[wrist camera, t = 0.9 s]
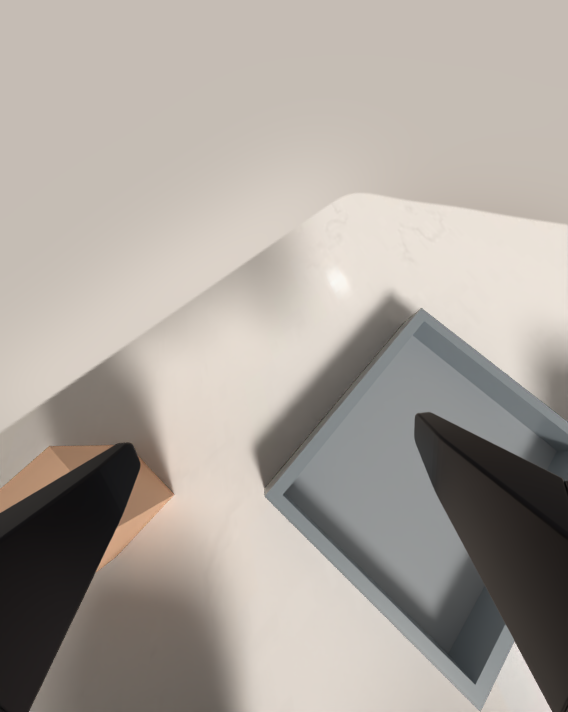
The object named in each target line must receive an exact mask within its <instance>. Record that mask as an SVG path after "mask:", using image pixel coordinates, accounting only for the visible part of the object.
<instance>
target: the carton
mask: <svg viewBox="0 0 568 712" xmlns="http://www.w3.org/2000/svg"><path fill="white" fill-rule="evenodd" d="M112 446H114V445H96V446H49V447H48V448H46V449H45V450H44V451H43V452H42V453H41V454H40V455H38V456H37V457H36V458H35V459H34V460H33V461H32V462H31V463H29V464H28V465H27V466H26V467H25V468H24V469H23V470H21V471H20V472H19V473H18V474H17V475H16V476H15V477H13V478H12V479H11V480H10V481H9V482H8V483H7V484H6V485H4V486H3V487H2V488H1V489H0V513H1V512H3V511H4V510H6V509H8V508H9V507H11V506H13V505H14V504H16V503H18V502H19V501H21V500H23V499H24V498H26V497H28V496H30V495H31V494H33V493H35V492H36V491H38V490H40V489H41V488H43V487H45V486H46V485H48V484H50V483H51V482H53V481H55V480H57V479H58V478H60V477H62V476H63V475H65V474H67V473H68V472H70V471H72V470H73V469H75V468H77V467H78V466H80V465H82V464H84V463H85V462H87V461H89V460H90V459H92V458H94V457H95V456H97V455H99V454H100V453H102V452H104V451H105V450H107V449H109V448H111V447H112ZM138 457H139V456H138ZM139 460H140V464H141V466H140V471H139V473H138V476H137V479H136V481H135V484H134V487H133V490H132V492H131V495H130V498H129V500H128V503H127V506H126V508H125V511H124V513H123V516H122V518H121V520H120V522H119V524H118V527H117V529H116V531H115V533H114V535H113V537H112V539H111V541H110V543H109V545H108V547H107V550H106V552H105V554H104V556H103V558H102V560H101V562H100V564H99V566H98V568H97V570H96V572H97V571H98V570H100V569H101V568H102V567H104V566H105V565H106V564H107V563H109V562H110V561H111V560H113V559H114V558H115V557H116V556H117V555H118V554H119V553H120V552H121V551H122V550H123V549H124V548H125V547H126V546H127V545H128V544H129V543H130V541H131V540H132V539H133V538H134V537H135V536H136V535H137V534H138V533H139V532H140V531H141V530H142V529H143V528H144V526H145V525H146V524H147V523H148V522H149V521H150V520H151V519H152V518H153V517H154V516H155V515H156V514H157V513H158V511H159V510H160V509H161V508H162V507H163V506H164V505H165V504H166V503H167V502H168V501H169V500H170V499H171V498H172V497H173V495H174V494H173V493H172V491H171V490H170V489H169V488H168V487H167V486H166V485H165V484H164V483H163V482H162V481H161V480H160V479H159V478H158V477H157V476H156V474H155V473H154V472H153V471H152V470H151V469H150V468H149V467H148V466H147V465H146V464H145V463H144V462H143V461H142V460H141V458H140V457H139Z"/></svg>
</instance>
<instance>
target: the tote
mask: <svg viewBox="0 0 568 712" xmlns="http://www.w3.org/2000/svg"><path fill="white" fill-rule="evenodd" d="M423 412H431V413H434V414H436V415H438V416H440V417H442V418H444V419H446V420H448V421H450V422H452V423H454V424H456V425H458V426H460V427H462V428H463V429H465V430H467V431H469V432H471V433H473V434H475V435H477V436H479V437H481V438H483V439H485V440H487V441H489V442H491V443H493V444H495V445H497V446H499V447H501V448H503V449H505V450H507V451H509V452H511V453H513V454H515V455H517V456H519V457H521V458H523V459H525V460H527V461H529V462H531V463H533V464H535V465H537V466H539V467H541V468H543V469H545V470H547V471H549V472H551V473H553V474H555V475H557V476H559V477H561V478H563V480H564V481H565V480H567V481H568V422H567V421H566V420H565V419H563V418H562V417H561V416H559V415H558V414H557V413H556V412H554V411H553V410H552V409H551V408H549V407H548V406H547V405H545V404H544V403H543V402H542V401H540V400H539V399H538V398H536V397H535V396H534V395H533V394H531V393H530V392H529V391H527V390H526V389H525V388H524V387H522V386H521V385H520V384H518V383H517V382H516V381H515V380H513V379H512V378H511V377H509V376H508V375H507V374H506V373H504V372H503V371H502V370H500V369H499V368H498V367H497V366H495V365H494V364H493V363H491V362H490V361H489V360H488V359H486V358H485V357H484V356H482V355H481V354H480V353H479V352H477V351H476V350H475V349H473V348H472V347H471V346H470V345H468V344H467V343H466V342H465V341H463V340H462V339H461V338H459V337H458V336H457V335H456V334H454V333H453V332H452V331H450V330H449V329H448V328H447V327H445V326H444V325H443V324H441V323H440V322H439V321H438V320H436V319H435V318H434V317H432V316H431V315H430V314H429V313H427V312H426V311H425V310H423V309H422V308H421V309H420V310H418V311H417V312H416V313H415V314H414V315H412V316H411V317H410V318H409V319H408V320H407V321H405V322H404V323H403V324H402V326H401V327H400V328H399V329H398V330H397V331H396V333H395V334H394V335H393V336H392V337H391V339H390V340H389V341H388V342H387V343H386V345H385V346H384V347H383V348H382V349H381V351H380V352H379V353H378V354H377V355H376V356H375V358H374V359H373V360H372V361H371V362H370V364H369V365H368V366H367V367H366V368H365V370H364V371H363V372H362V373H361V374H360V376H359V377H358V378H357V379H356V380H355V381H354V383H353V384H352V385H351V386H350V387H349V389H348V390H347V391H346V392H345V393H344V395H343V396H342V397H341V398H340V399H339V401H338V402H337V403H336V404H335V405H334V406H333V408H332V409H331V410H330V411H329V412H328V414H327V415H326V416H325V417H324V418H323V420H322V421H321V422H320V423H319V424H318V426H317V427H316V428H315V429H314V430H313V431H312V433H311V434H310V435H309V436H308V437H307V439H306V440H305V441H304V442H303V443H302V445H301V446H300V447H299V448H298V449H297V451H296V452H295V453H294V454H293V455H292V456H291V458H290V459H289V460H288V461H287V462H286V464H285V465H284V466H283V467H282V468H281V470H280V471H279V472H278V473H277V474H276V476H275V477H274V478H273V479H272V480H271V481H270V483H269V484H268V485H267V486H266V487H265V489H264V495H265V497H266V498H267V499H268V500H269V501H270V502H271V503H272V504H273V505H274V506H275V507H276V508H277V509H278V510H279V511H280V512H281V513H282V514H283V515H284V516H285V517H286V518H287V519H288V520H289V521H290V522H291V523H292V524H293V525H294V526H295V527H296V528H297V529H298V530H299V531H300V532H301V533H302V534H303V535H304V536H305V537H306V538H307V539H308V540H309V541H310V542H311V543H312V544H313V545H314V546H315V547H316V548H317V549H318V550H319V551H320V552H321V553H322V554H323V555H324V556H325V557H326V558H327V559H328V560H329V561H330V562H331V563H332V564H333V565H334V566H335V567H336V568H337V569H338V570H339V571H340V572H341V573H342V574H343V575H344V576H345V577H346V578H347V579H348V580H349V581H350V582H351V583H352V584H353V585H354V586H355V587H356V588H357V589H358V590H359V591H360V592H361V593H362V594H363V595H364V596H365V597H366V598H367V599H368V600H369V601H370V602H371V603H372V604H373V605H374V606H375V607H376V608H377V609H378V610H379V611H380V612H381V613H382V614H383V615H384V616H385V617H386V618H387V619H388V620H389V621H390V622H391V623H392V624H393V625H394V626H395V627H396V628H397V629H398V630H399V631H400V632H401V633H402V634H403V635H404V636H405V637H406V638H407V639H408V640H409V641H410V642H411V643H412V644H413V645H414V646H415V647H416V648H417V649H418V650H419V651H420V652H421V653H422V654H423V655H424V656H425V657H426V658H427V659H428V660H429V661H430V662H431V663H432V664H433V665H434V666H435V667H436V668H437V669H438V670H439V671H440V672H441V673H442V674H443V675H444V676H445V677H446V678H447V679H448V680H449V681H450V682H451V683H452V684H453V685H454V686H455V687H456V688H457V689H458V690H459V691H460V692H461V693H462V694H463V695H464V696H465V697H466V698H467V699H468V700H469V701H470V702H471V703H472V704H473V705H474V706H475V707H476V708H477V709H478V710H479V711H480V712H481V710H482V708H483V706H484V703H485V701H486V699H487V697H488V695H489V693H490V691H491V689H492V687H493V685H494V683H495V680H496V678H497V676H498V674H499V672H500V670H501V668H502V666H503V664H504V662H505V660H506V658H507V655H508V653H509V651H510V649H511V647H512V645H513V643H514V639H513V637H512V635H511V633H510V632H509V630H508V628H507V626H506V624H505V622H504V620H503V618H502V617H501V615H500V613H499V611H498V609H497V607H496V605H495V603H494V602H493V600H492V598H491V596H490V594H489V592H488V590H487V588H486V587H485V585H484V583H483V581H482V579H481V577H480V575H479V573H478V572H477V570H476V568H475V566H474V564H473V562H472V560H471V558H470V557H469V555H468V553H467V551H466V549H465V547H464V545H463V543H462V542H461V540H460V538H459V536H458V534H457V532H456V530H455V528H454V527H453V525H452V523H451V521H450V519H449V517H448V515H447V514H446V512H445V510H444V508H443V506H442V504H441V502H440V500H439V498H438V496H437V494H436V492H435V490H434V488H433V486H432V483H431V481H430V478H429V476H428V473H427V471H426V468H425V466H424V463H423V461H422V458H421V456H420V453H419V451H418V448H417V446H416V443H415V439H414V423H415V415H416V414H417V413H423Z"/></svg>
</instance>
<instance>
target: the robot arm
mask: <svg viewBox="0 0 568 712" xmlns="http://www.w3.org/2000/svg"><path fill="white" fill-rule="evenodd" d="M414 439H415V443H416V446H417V448H418V451H419V453H420V456H421V458H422V461H423V463H424V466H425V468H426V471H427V473H428V476H429V478H430V481H431V483H432V486H433V488H434V490H435V492H436V494H437V496H438V498H439V500H440V502H441V504H442V506H443V508H444V510H445V512H446V514H447V515H448V517H449V519H450V521H451V523H452V525H453V527H454V528H455V530H456V532H457V534H458V536H459V538H460V540H461V542H462V543H463V545H464V547H465V549H466V551H467V553H468V555H469V557H470V558H471V560H472V562H473V564H474V566H475V568H476V570H477V572H478V573H479V575H480V577H481V579H482V581H483V583H484V585H485V587H486V588H487V590H488V592H489V594H490V596H491V598H492V600H493V602H494V603H495V605H496V607H497V609H498V611H499V613H500V615H501V617H502V618H503V620H504V622H505V624H506V626H507V628H508V630H509V632H510V633H511V635H512V637H513V639H514V641H515V643H516V645H517V647H518V648H519V650H520V652H521V654H522V656H523V658H524V660H525V662H526V663H527V665H528V667H529V669H530V671H531V673H532V675H533V677H534V678H535V680H536V682H537V684H538V686H539V688H540V690H541V692H542V693H543V695H544V697H545V699H546V701H547V703H548V705H549V706H550V708H551V710H552V712H568V481H567V480H565V481H564V480H563V478H561V477H559V476H557V475H555V474H553V473H551V472H549V471H547V470H545V469H543V468H541V467H539V466H537V465H535V464H533V463H531V462H529V461H527V460H525V459H523V458H521V457H519V456H517V455H515V454H513V453H511V452H509V451H507V450H505V449H503V448H501V447H499V446H497V445H495V444H493V443H491V442H489V441H487V440H485V439H483V438H481V437H479V436H477V435H475V434H473V433H471V432H469V431H467V430H465V429H463V428H462V427H460V426H458V425H456V424H454V423H452V422H450V421H448V420H446V419H444V418H442V417H440V416H438V415H436V414H434V413H431V412H423V413H417V414H416V415H415V423H414ZM140 466H141V464H140V460H139V457H138V455H137V453H136V451H135V448H134V446H133V444H131V443H129V442H127V443H118V444H116V445H114V446H112V447H111V448H109V449H107V450H105V451H104V452H102V453H100V454H99V455H97V456H95V457H94V458H92V459H90V460H89V461H87V462H85V463H84V464H82V465H80V466H78V467H77V468H75V469H73V470H72V471H70V472H68V473H67V474H65V475H63V476H62V477H60V478H58V479H57V480H55V481H53V482H51V483H50V484H48V485H46V486H45V487H43V488H41V489H40V490H38V491H36V492H35V493H33V494H31V495H30V496H28V497H26V498H24V499H23V500H21V501H19V502H18V503H16V504H14V505H13V506H11V507H9V508H8V509H6V510H4V511H3V512H1V513H0V712H29V710H30V708H31V706H32V704H33V702H34V700H35V698H36V696H37V694H38V692H39V689H40V687H41V685H42V683H43V681H44V679H45V677H46V675H47V673H48V671H49V669H50V666H51V664H52V662H53V660H54V658H55V656H56V654H57V652H58V650H59V648H60V646H61V644H62V641H63V639H64V637H65V635H66V633H67V631H68V629H69V627H70V625H71V623H72V621H73V618H74V616H75V614H76V612H77V610H78V608H79V606H80V604H81V602H82V600H83V598H84V595H85V593H86V591H87V589H88V587H89V585H90V583H91V581H92V579H93V577H94V575H95V573H96V570H97V568H98V566H99V564H100V562H101V560H102V558H103V556H104V554H105V552H106V550H107V547H108V545H109V543H110V541H111V539H112V537H113V535H114V533H115V531H116V529H117V527H118V524H119V522H120V520H121V518H122V516H123V513H124V511H125V508H126V506H127V503H128V500H129V498H130V495H131V492H132V490H133V487H134V484H135V481H136V479H137V476H138V473H139V471H140Z"/></svg>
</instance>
